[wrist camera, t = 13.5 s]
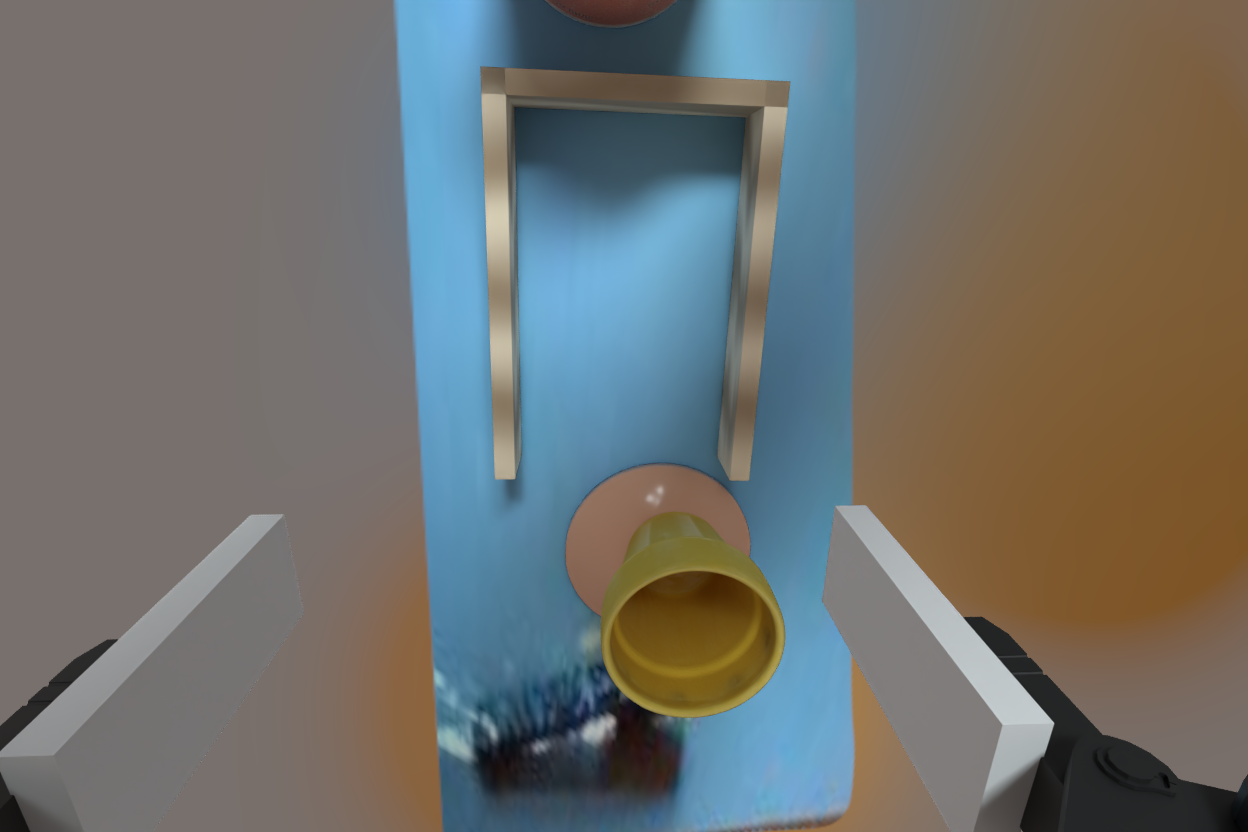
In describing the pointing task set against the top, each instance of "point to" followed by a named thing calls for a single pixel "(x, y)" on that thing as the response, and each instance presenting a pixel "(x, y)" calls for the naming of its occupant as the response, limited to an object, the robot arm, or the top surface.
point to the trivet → (641, 519)
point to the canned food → (611, 11)
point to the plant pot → (689, 621)
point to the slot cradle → (753, 232)
